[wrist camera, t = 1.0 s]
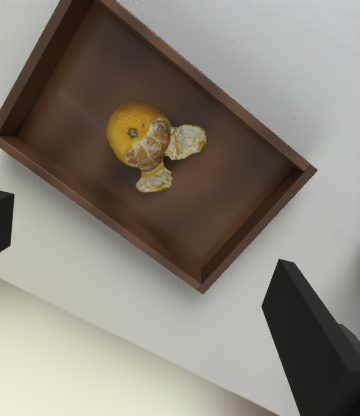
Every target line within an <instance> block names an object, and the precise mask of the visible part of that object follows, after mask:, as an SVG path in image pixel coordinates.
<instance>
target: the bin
mask: <svg viewBox="0 0 360 416" xmlns="http://www.w3.org/2000/svg"><path fill="white" fill-rule="evenodd" d="M134 100H142V101H146V102H151V103H152V104H154V105H155V106H157V107H158V108H160V109H161V110H162V112H163V113H164V114H165V115H166V117H167V118H168V119H169V121H170V124H171V126H172V127H180V126H182V125H185V124H191V125H195V126H199V127H201V128H202V129H203V130H204V131H205V133H206V142H207V143H206V144H205V146H204V147H203V148H202V151H201V152H196V153H194V154H191V155H189V156H188V157H186V158H185V159H184V158H183V159H180V160H177V159H175V160H171V158H170V157H169V156H168V155H166V156H164V157H163V163H164V167H165V168H166V169H167V170H169V171H170V172H171V177H172V178H173V179H172V181H171V186H170V188H167V189H165V190H161V191H157V192H141V191H139V190H138V189H137V187H136V183H137V182H139V180H140V178H141V173H142V172H141V170H140V168H139V167H131V166H129V165H126V164H125V163H123V162H122V161H121V160H120V159H118V158H117V156H116V155H115V153H114V151H113V149H112V148H111V146H110V144H109V141H108V139H107V137H106V128H107V122H108V120H109V117H110V116H111V114H112V113H113V111H114V110H115V109H116V108H117V107H119V106H120V105H121V104H123V103H125V102H127V101H134ZM0 148H1V149H2V150H4V151H5V152H7V153H8V154H9V155H11V156H12V157H13V158H15V159H16V160H18V161H19V162H20V163H22V164H23V165H25V166H26V167H27V168H29V169H30V170H31V171H33V172H34V173H36V174H37V175H38V176H40V177H41V178H43V179H44V180H45V181H47V182H48V183H49V184H51V185H52V186H54V187H55V188H56V189H58V190H59V191H60V192H62V193H63V194H65V195H66V196H67V197H69V198H70V199H72V200H73V201H74V202H76V203H77V204H78V205H80V206H81V207H83V208H84V209H85V210H87V211H88V212H90V213H91V214H92V215H94V216H95V217H96V218H98V219H99V220H101V221H102V222H103V223H105V224H106V225H108V226H109V227H110V228H112V229H113V230H114V231H116V232H117V233H119V234H120V235H121V236H123V237H124V238H125V239H127V240H128V241H130V242H131V243H132V244H134V245H135V246H137V247H138V248H139V249H141V250H142V251H143V252H145V253H146V254H148V255H149V256H150V257H152V258H153V259H155V260H156V261H157V262H159V263H160V264H161V265H163V266H164V267H166V268H167V269H168V270H170V271H171V272H172V273H174V274H175V275H177V276H178V277H179V278H181V279H182V280H184V281H185V282H186V283H188V284H189V285H190V286H192V287H193V288H195V289H196V290H198V291H199V292H200V293H202V294H204V293H205V292H206V291H207V289H208V288H209V287H210V286H211V285H212V284H213V283H214V282H215V281H216V280H217V279H218V278H219V277H220V275H221V274H222V273H223V272H224V271H225V270H226V269H227V268H228V267H229V266H230V265H231V264H232V262H233V261H234V260H235V259H236V258H237V257H238V256H239V255H240V254H241V253H242V252H243V251H244V250H245V248H246V247H247V246H248V245H249V244H250V243H251V242H252V241H253V240H254V239H255V238H256V237H257V236H258V234H259V233H260V232H261V231H262V230H263V229H264V228H265V227H266V226H267V225H268V224H269V223H270V221H271V220H272V219H273V218H274V217H275V216H276V215H277V214H278V213H279V212H280V211H281V210H282V209H283V207H284V206H285V205H286V204H287V203H288V202H289V201H290V200H291V199H292V198H293V197H294V196H295V194H296V193H297V192H298V191H299V190H300V189H301V188H302V187H303V186H304V185H305V184H306V183H307V182H308V180H309V179H310V178H311V177H312V176H313V175H314V174H315V173H316V172H317V171H318V170H317V169H316V168H315V167H314V166H312V165H311V164H310V163H309V162H308V161H306V160H305V159H304V158H303V157H302V156H301V155H299V154H298V153H297V152H296V151H295V150H293V149H292V148H291V147H290V146H289V145H287V144H286V143H285V142H284V141H283V140H282V139H280V138H279V137H278V136H277V135H276V134H274V133H273V132H272V131H271V130H270V129H268V128H267V127H266V126H265V125H264V124H263V123H261V122H260V121H259V120H258V119H257V118H255V117H254V116H253V115H252V114H251V113H249V112H248V111H247V110H246V109H245V108H243V107H242V106H241V105H240V104H239V103H238V102H236V101H235V100H234V99H233V98H232V97H230V96H229V95H228V94H227V93H226V92H224V91H223V90H222V89H221V88H220V87H219V86H217V85H216V84H215V83H214V82H213V81H211V80H210V79H209V78H208V77H207V76H205V75H204V74H203V73H202V72H201V71H200V70H198V69H197V68H196V67H195V66H194V65H192V64H191V63H190V62H189V61H188V60H186V59H185V58H184V57H183V56H182V55H180V54H179V53H178V52H177V51H176V50H175V49H173V48H172V47H171V46H170V45H169V44H167V43H166V42H165V41H164V40H163V39H161V38H160V37H159V36H158V35H157V34H156V33H154V32H153V31H152V30H151V29H150V28H148V27H147V26H146V25H145V24H144V23H142V22H141V21H140V20H139V19H138V18H137V17H135V16H134V15H133V14H132V13H131V12H129V11H128V10H127V9H126V8H125V7H123V6H122V5H121V4H120V3H119V2H117V1H116V0H60V2H59V4H58V5H57V7H56V9H55V11H54V13H53V14H52V16H51V18H50V20H49V22H48V24H47V25H46V27H45V29H44V31H43V33H42V35H41V36H40V38H39V40H38V42H37V44H36V45H35V47H34V49H33V51H32V53H31V55H30V56H29V58H28V60H27V62H26V64H25V66H24V67H23V69H22V71H21V73H20V75H19V76H18V78H17V80H16V82H15V84H14V86H13V87H12V89H11V91H10V93H9V95H8V97H7V98H6V100H5V102H4V104H3V106H2V108H1V109H0Z"/></svg>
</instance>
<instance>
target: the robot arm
mask: <svg viewBox="0 0 360 416" xmlns="http://www.w3.org/2000/svg"><path fill="white" fill-rule="evenodd" d="M14 195H15V194H12V193H8V192H4V191H0V252H1V251H3V250H4V249H6V248H8V247H9V246H10V244H11V232H12V219H13V207H14ZM261 307H262V310H263V313H264V315H265V318H266V321H267V324H268V327H269V329H270V332H271V335H272V338H273V340H274V343H275V346H276V349H277V352H278V354H279V357H280V360H281V363H282V366H283V368H284V371H285V374H286V377H287V380H288V382H289V385H290V388H291V391H292V394H293V396H294V399H295V402H296V405H297V408H298V410H299V413H300V416H360V341H359V340H358V339H357V338H356V336H355V335H354V334H353V333H352V332H350V331H349V330H348V329H347V328H346V327H345V326H344V325H342V324H338V323H337V322H336V321H335V319H334V318H333V316H332V315H331V314H330V312H329V311H328V309H327V308H326V307H325V305H324V304H323V302H322V301H321V300H320V298H319V297H318V295H317V294H316V292H315V291H314V290H313V288H312V287H311V285H310V284H309V283H308V281H307V280H306V278H305V277H304V276H303V274H302V273H301V271H300V270H299V269H298V267H297V266H296V264H295V263H294V262H290V261H286V260H282V259H279V260H278V263H277V266H276V268H275V271H274V274H273V276H272V279H271V282H270V284H269V287H268V290H267V293H266V295H265V298H264V301H263V303H262V306H261Z"/></svg>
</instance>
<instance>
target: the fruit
mask: <svg viewBox="0 0 360 416" xmlns="http://www.w3.org/2000/svg"><path fill="white" fill-rule="evenodd" d="M106 137H107V139H108V141H109V144H110V146H111V148H112V149H113V151H114V153H115V155H116V156H117V158H118V159H120V160H121V161H122V162H123V163H125V164H126V165H129V166H131V167H139V168H140V170H141V172H142V173H141V178H140V180H139V182H137V183H136V187H137V189H138V190H139V191H141V192H157V191H161V190H165V189H167V188H170V186H171V181H172V179H173V178H172V177H171V172H170V171H169V170H167V169H166V168H165V167H164V163H163V157H164V156H166V155H168V156H169V157H170V158H171V160H175V159H177V160H180V159H183V158H184V159H185V158H186V157H188V156H189V155H191V154H194V153H196V152H201V151H202V148H203V147H204V146H205V144H206V143H207V142H206V133H205V131H204V130H203V129H202V128H201V127H199V126H195V125H191V124H185V125H182V126H180V127H172V126H171V124H170V121H169V119H168V118H167V117H166V115H165V114H164V113H163V112H162V110H161V109H160V108H158V107H157V106H155V105H154V104H152V103H151V102H146V101H142V100H134V101H127V102H125V103H123V104H121V105H120V106H119V107H117V108H116V109H115V110H114V111H113V113H112V114H111V116H110V117H109V120H108V122H107V128H106Z"/></svg>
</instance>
